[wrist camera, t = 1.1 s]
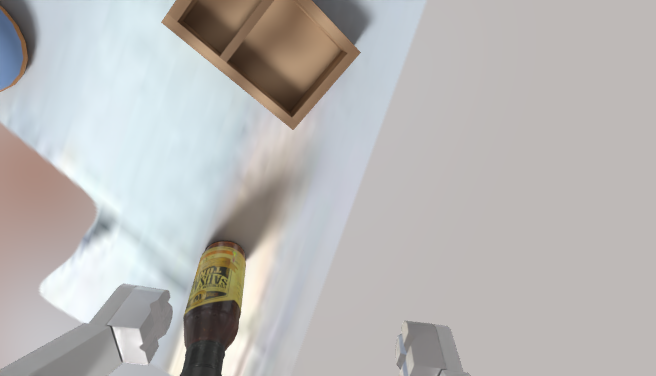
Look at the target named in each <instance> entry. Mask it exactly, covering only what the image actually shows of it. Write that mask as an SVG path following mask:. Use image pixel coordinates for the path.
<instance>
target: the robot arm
mask: <svg viewBox="0 0 656 376" xmlns="http://www.w3.org/2000/svg"><path fill="white" fill-rule="evenodd" d="M169 299H170V293H169V291H168V290H163V289H156V288H150V287H144V286H137V285H130V284H122V285H120V286H119V287H118V288H117V289H116V290H115V291H114V293H113V294H112V295H111V296H110V298H109V299H108V300H107V301H106V303H105V304H104V305H103V306H102V308H101V309H100V310H99V311H98V313H97V314H96V315H95V316H94V318H93V319H92V320H91V321H90V323H83V324H82V325H80V326H78V327H76V328H74V329H73V330H71V331H69V332H67V333H65V334H64V335H62V336H60V337H58V338H56V339H54V340H53V341H51V342H49V343H47V344H46V345H44V346H42V347H40V348H38V349H37V350H35V351H33V352H31V353H29V354H27V355H26V356H24V357H22V358H21V359H18V360H17V361H15V362H13V363H11V364H9V365H8V366H6V367H4V368H2V369H1V370H0V376H108V375H109V374H110V373H111V372H113V371H114V370H115V369H117V368H118V367H119V366H120V365H121V364H122V363H133V364H142V365H149V363H150V361H151V360H152V358H153V356H154V354H155V352H156V351H157V349H158V347H159V345H158V339H159V338H161V337H162V336H164V335H165V334H166V332H167V330H168V328H169V327H170V323H171V320H172V314H173V310H172V306H171V305H170V304H169V303H168V301H169ZM401 329H402V334H400V335H399V336H398V338H397V342H396V349H395V355H396V364H397V366H398V367H399V368H400V370H401V371H400V373H399V376H470V374H469V373H465V372H463V368H462V365H461V362H460V358H459V355H458V352H457V349H456V345H455V342H454V339H453V336H452V332H451V329H450V328H449V327H448V326H442V325H435V324H429V323H420V322H412V321H404V322H403V324H402V327H401Z"/></svg>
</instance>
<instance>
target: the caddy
mask: <svg viewBox="0 0 656 376" xmlns="http://www.w3.org/2000/svg"><path fill="white" fill-rule="evenodd" d="M161 23H163V24H164V25H165V26H166V27H168V28H169V29H170V30H171V31H172V32H174V33H175V34H176V35H177V36H179V37H180V38H181V39H182V40H183V41H185V42H186V43H187V44H188V45H190V46H191V47H192V48H193V49H194V50H196V51H197V52H198V53H199V54H201V55H202V56H203V57H204V58H205V59H207V60H208V61H209V62H210V63H212V64H213V65H214V66H215V67H217V68H218V69H219V70H220V71H221V72H223V73H224V74H225V75H226V76H228V77H229V78H230V79H231V80H232V81H234V82H235V83H236V84H237V85H239V86H240V87H241V88H242V89H243V90H245V91H246V92H247V93H248V94H250V95H251V96H252V97H253V98H254V99H256V100H257V101H258V102H259V103H261V104H262V105H263V106H264V107H265V108H267V109H268V110H269V111H270V112H272V113H273V114H274V115H275V116H276V117H278V118H279V119H280V120H281V121H283V122H284V123H285V124H286V125H287V126H289V127H290V128H291V129H292V130H294V129H295V127H296V126H297V125H298V124H299V123H300V122H301V121H302V119H303V118H304V117H305V116H306V115H307V114H308V112H309V111H310V110H311V109H312V108H313V107H314V106H315V104H316V103H317V102H318V101H319V100H320V99H321V98H322V96H323V95H324V94H325V93H326V92H327V91H328V90H329V88H330V87H331V86H332V85H333V84H334V83H335V81H336V80H337V79H338V78H339V77H340V76H341V75H342V73H343V72H344V71H345V70H346V69H347V68H348V67H349V65H350V64H351V63H352V62H353V61H354V60H355V59H356V57H357V56H358V55H359V54H360V53H361V52H360V51H359V50H358V49H357V48H356V47H355V46H354V45H353V44H352V43H351V42H350V41H349V39H348V38H347V37H346V36H345V35H344V34H343V33H342V32H341V31H340V30H339V29H338V28H337V27H336V26H335V25H334V23H333V22H332V21H331V20H330V19H329V18H328V17H327V16H326V15H325V14H324V13H323V12H322V11H321V10H320V9H319V7H318V6H317V5H316V4H315V3H314V2H313V1H312V0H176V1H175V3H174V4H173V6H172V7H171V9H170V10H169V12H168V13H167V15H166V16H165V17H164V19H163V20H162V22H161Z"/></svg>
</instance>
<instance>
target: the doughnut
mask: <svg viewBox="0 0 656 376" xmlns="http://www.w3.org/2000/svg"><path fill="white" fill-rule="evenodd" d="M27 61H28V55H27V48H26V42H25V39H24V37H23V35H22V33H21V31H20V29H19V27H18V25H17V24H16V23H15V21H14V20H13V19H12V18H11V16H10V15H9V14H8V13H7V12H6V10H5V9H4V8H3V7H2V6H0V92H1V91H3V90H5V89H7V88H9V87H11V86H13V85H15V84H16V83H17V82H18V80H19V79H20V78H21V77H22V76H23V74H24V73H25V69H26V65H27Z"/></svg>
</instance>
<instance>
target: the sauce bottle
mask: <svg viewBox="0 0 656 376" xmlns="http://www.w3.org/2000/svg"><path fill="white" fill-rule="evenodd" d="M245 261H246V258H245V253H244V251H243V249H242V248H241V247H240V246H239V245H237V244H236V243H234V242H229V241H220V242H216V243H213V244H211V245H210V246H209V247H208V248H207V249H206V250H205V252H204V253H203V254H202V257H201V259H200V262H199V265H198V269H197V272H196V276H195V279H194V282H193V286H192V289H191V293H190V296H189V300H188V304H187V307H186V310H185V314H184V341H185V346H186V349H187V351H186V354H185V362H184V366H183V370H182V372H181V374H180V376H222V375H221V371H222V364H223V359H224V356H225V351H226V350H227V348H228V347H229V346H230V345H231V344H232V342H233V341H234V339H235V337H236V335H237V332H238V325H239V318H240V315H241V305H242V296H243V287H244V277H245V268H246V262H245Z"/></svg>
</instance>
